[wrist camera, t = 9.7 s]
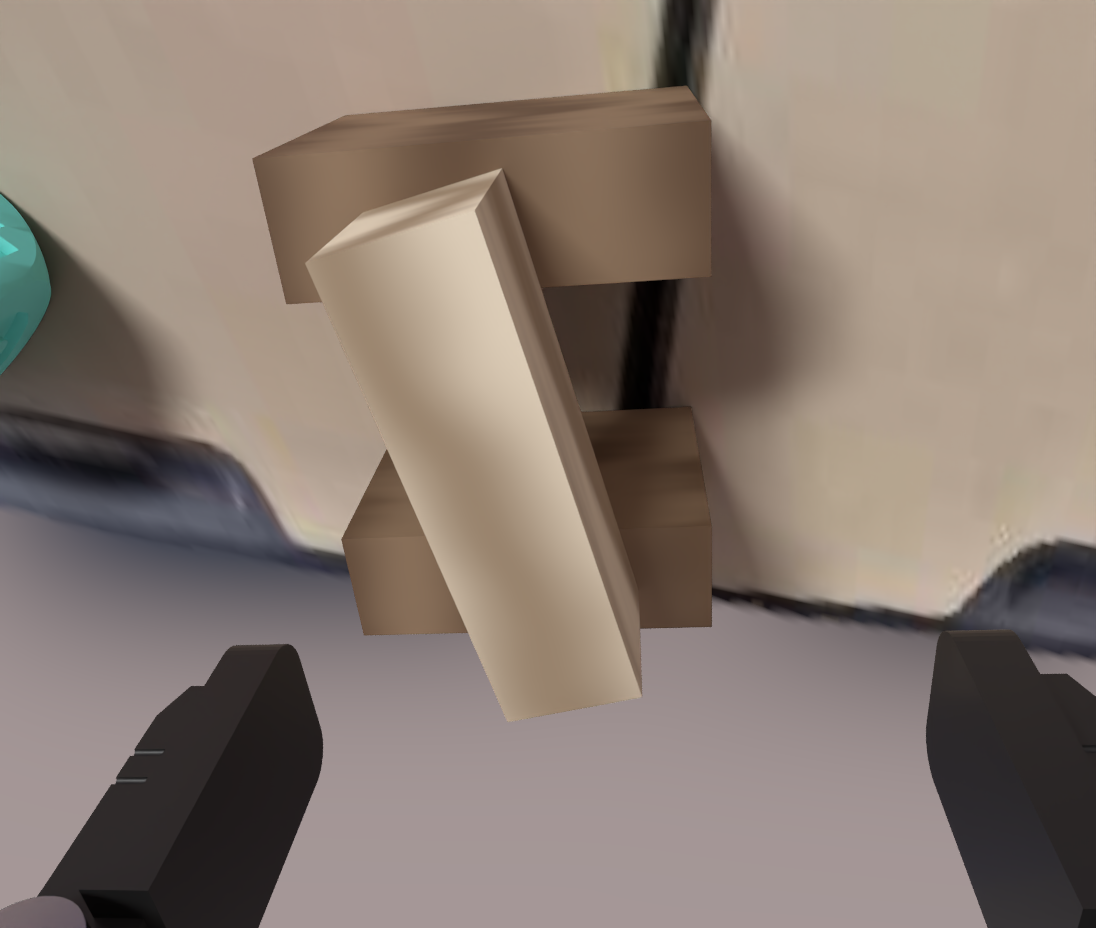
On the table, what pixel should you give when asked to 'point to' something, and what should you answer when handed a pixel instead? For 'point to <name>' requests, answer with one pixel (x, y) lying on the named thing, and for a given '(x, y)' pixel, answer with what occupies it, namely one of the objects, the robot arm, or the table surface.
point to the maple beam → (488, 440)
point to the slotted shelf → (559, 260)
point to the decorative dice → (19, 284)
